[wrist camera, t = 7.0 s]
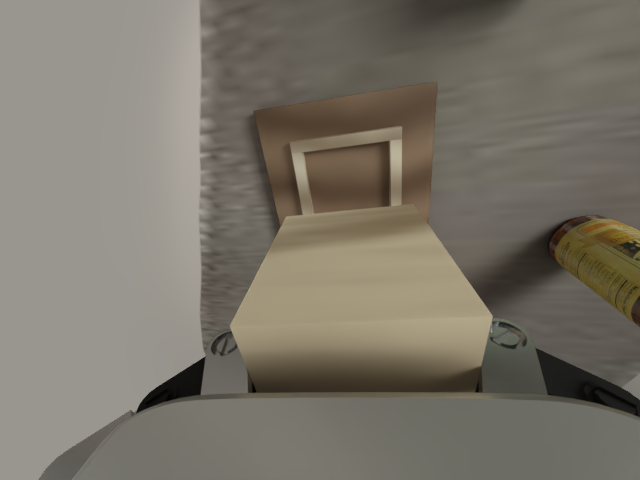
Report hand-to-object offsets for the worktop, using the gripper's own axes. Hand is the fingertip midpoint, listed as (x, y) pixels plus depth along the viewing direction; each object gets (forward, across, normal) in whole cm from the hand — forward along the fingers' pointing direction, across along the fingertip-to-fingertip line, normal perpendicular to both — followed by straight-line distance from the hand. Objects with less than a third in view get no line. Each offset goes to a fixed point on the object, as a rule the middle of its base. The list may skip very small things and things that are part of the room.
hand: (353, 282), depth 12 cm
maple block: (+2, 0, 0) cm, 2 cm away
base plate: (+17, 0, 0) cm, 17 cm away
